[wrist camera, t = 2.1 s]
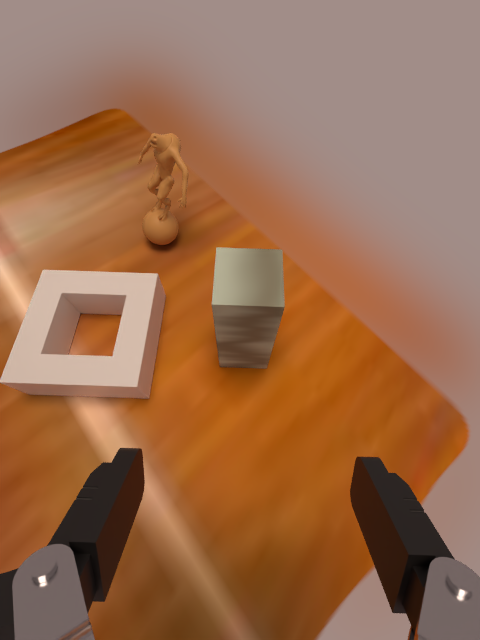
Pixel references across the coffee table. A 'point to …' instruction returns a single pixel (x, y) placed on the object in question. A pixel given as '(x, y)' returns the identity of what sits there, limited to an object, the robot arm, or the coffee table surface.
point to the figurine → (163, 188)
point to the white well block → (59, 328)
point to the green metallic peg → (247, 305)
